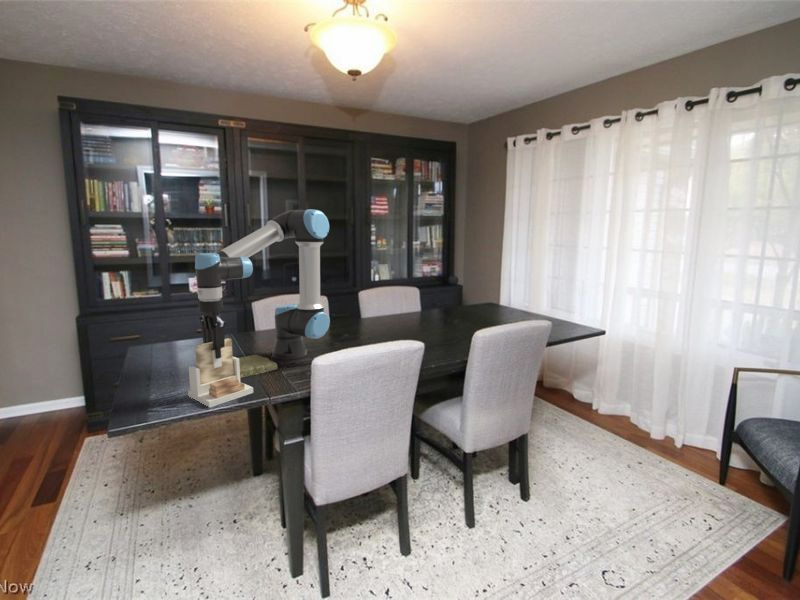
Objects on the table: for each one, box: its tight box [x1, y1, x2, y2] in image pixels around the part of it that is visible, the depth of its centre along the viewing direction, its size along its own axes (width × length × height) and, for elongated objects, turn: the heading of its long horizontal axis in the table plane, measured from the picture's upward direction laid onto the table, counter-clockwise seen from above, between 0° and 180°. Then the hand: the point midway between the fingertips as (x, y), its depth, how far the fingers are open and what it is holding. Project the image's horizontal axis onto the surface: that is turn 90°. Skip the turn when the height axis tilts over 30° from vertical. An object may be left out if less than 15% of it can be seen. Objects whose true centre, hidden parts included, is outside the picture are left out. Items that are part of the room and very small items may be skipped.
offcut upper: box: [210, 377, 239, 392], centre depth 141 cm, size 8×4×2 cm, turn 142°
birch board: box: [194, 338, 234, 385], centre depth 145 cm, size 12×2×14 cm, turn 142°
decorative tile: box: [238, 354, 278, 379], centre depth 171 cm, size 19×20×4 cm
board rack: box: [187, 356, 254, 408], centre depth 144 cm, size 16×14×11 cm
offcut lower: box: [209, 381, 245, 398], centre depth 142 cm, size 10×5×2 cm, turn 142°
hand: (215, 365), depth 146 cm, fingers closed on birch board, 2 cm apart
